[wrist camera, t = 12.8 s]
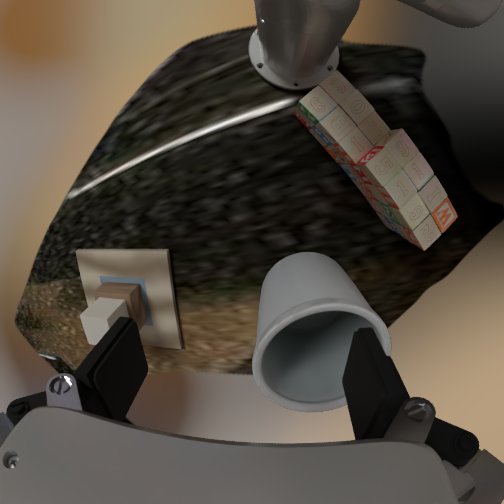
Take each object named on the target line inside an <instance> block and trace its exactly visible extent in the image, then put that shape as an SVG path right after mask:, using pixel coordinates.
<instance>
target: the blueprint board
mask: <svg viewBox="0 0 504 504" xmlns="http://www.w3.org/2000/svg"><path fill="white" fill-rule="evenodd" d="M76 255H77V260H78V265H79V270H80V275H81V279H82V283H83V288H84V292H85V296H86V300H87V303H88V307H89V306H90V305H92V304H93V303H94V302H95V297H94V293H93V291H94V290H96V289H97V288H98V287H99V286H100V285H102V284H103V283H104V282H119V283H137V284H140V288H141V294H142V299H143V304H144V309H145V314H146V319H147V321H146V323H145V324H144V325H143V327H142V328H141V330H140V331H139V334H140V338H141V342H142V345H148V346H156V347H165V348H175V349H181V348H182V346H183V345H182V339H181V334H180V328H179V322H178V315H177V309H176V302H175V295H174V288H173V280H172V272H171V264H170V255H169V249H78V250H76Z"/></svg>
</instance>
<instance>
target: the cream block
mask: <svg viewBox="0 0 504 504" xmlns="http://www.w3.org/2000/svg"><path fill="white" fill-rule="evenodd" d="M121 316H122V317H129V315H128V311H127V306H126V302H125V300H121V299H111V298H101V297H99V298H98V299H97V300H96V301H95V302H94V303H93V304H92V305H90V306H89V307H88V308H87V309H86V310H85V311H84V312H83V313H82V314H81V315H80V318H81V321H82V324H83V327H84V330H85V334H86V337H87V339H88V342H89V344H93V345H96V344H97V343H98V342H99V341H100V340H101V338H102V337H103V336H104V335H105V333H106V332H107V331H108V330H109V329H110V327H111V326H112V325H113V324H114V323H115V321H116V320H117V319H118V318H119V317H121Z"/></svg>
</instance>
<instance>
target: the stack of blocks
mask: <svg viewBox="0 0 504 504" xmlns="http://www.w3.org/2000/svg"><path fill="white" fill-rule="evenodd" d="M294 115H295V116H296V117H297V118H298V119H299V120H300V121H301V122H302V123H303V124H304V125H305V126H306V127H307V129H309V132H310V133H311V134H312V135H313V136H314V137H315V138H316V139H317V140H318V141H319V142H320V144H321V145H322V146H323V147H324V148H325V149H326V150H327V152H328V153H329V154H330V155H331V156H332V157H333V159H334V160H335V161H336V162H337V163H338V164H339V165H340V166H341V167H342V168H343V170H344V171H345V172H346V173H347V175H348V176H349V177H350V178H351V179H352V181H353V182H354V183H355V184H356V186H357V187H358V188H359V189H360V191H361V192H362V193H363V194H364V197H365V198H366V199H367V201H368V202H369V203H370V205H371V206H372V207H373V209H374V210H375V211H376V213H377V214H378V216H379V217H380V219H381V220H382V222H383V223H384V224H385V226H386V227H388V228H390V229H391V230H393V231H395V232H396V233H398V234H400V235H401V236H403V237H404V238H405V239H407V240H408V241H409V242H411V243H413V244H415V245H416V246H418V247H419V248H421V249H422V250H426V249H427V248H428V247H429V246H430V245H431V244H432V243H433V242H434V241H435V240H436V239H437V238H438V237H439V236H441V233H443V232H444V231H445V230H446V229H447V228H448V227H449V226H450V225H451V224H452V223H453V222H454V220H455V219H456V218H457V217H458V216H457V214H456V212H455V210H454V208H453V206H452V204H451V202H450V201H449V199H448V197H447V194H446V192H445V190H444V189H443V187H442V185H441V184H440V182H439V180H438V179H437V177H436V176H435V175H434V172H433V170H432V169H431V167H430V166H429V164H428V163H427V161H426V160H425V158H424V157H423V155H422V154H421V153H420V152H419V151H418V149H417V147H416V146H415V145H414V143H413V142H412V140H411V139H410V138H409V136H408V135H407V134H406V133H405V131H404V130H403V129H397V130H390V129H389V127H388V126H387V125H386V124H385V122H384V121H383V120H382V119H381V117H380V116H379V115H378V114H377V113H376V111H375V109H374V108H373V107H372V106H371V104H370V103H369V102H368V101H367V100H366V99H365V98H364V96H363V95H362V94H361V93H360V92H359V91H358V90H357V89H355V88H354V87H353V86H352V84H351V83H350V82H349V81H348V80H347V79H346V78H345V77H344V76H343V75H342V74H341V73H340V72H339V71H338V70H336V71H335V72H334V73H333V74H331V75H330V76H329V77H327V78H326V79H325V80H324V81H322V82H321V83H320V84H319V85H318V86H317V87H316V88H314V89H313V90H312V91H311V92H309V93H308V94H307V95H306V96H305V97H303V98H302V99H301V100H300V101H299V102H298V104H297V107H296V109H295V112H294Z"/></svg>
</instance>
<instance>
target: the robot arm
mask: <svg viewBox="0 0 504 504" xmlns="http://www.w3.org/2000/svg"><path fill="white" fill-rule="evenodd" d="M398 1H400V2H403V3H405V4H407V5H409V6H412V7H414V8H416V9H418V10H420V11H422V12H424V13H426V14H428V15H430V16H432V17H434V18H436V19H438V20H440V21H442V22H444V23H447V24H449V25H452V26H455V27H460V28H474V27H477V26H480V25H482V24H483V23H485V22H487V21H488V20H489V19H490V18H492V16H493V15H494V14H495V13H496V12H497V10H498V9H499V7H500V6H501V4H502V2H503V0H398ZM254 2H255V11H256V19H257V29H256V30H255V31H254V33H253V35H252V36H251V39H250V42H249V49H248V50H249V57H250V60H251V63H252V65H253V67H254V69H255V70H256V71H257V73H258V74H259V75H260V76H261V77H262V78H263V79H265V80H266V81H268V82H269V83H271V84H272V85H275V86H277V87H280V88H283V89H288V90H298V91H299V90H308V89H312V88H315V87H317V86H318V85H319V84H320V83H321V82H322V81H324V80H325V79H326V78H327V77H329V76H330V75H331V74H333V73H334V72H335V71H336V68H337V66H338V63H339V49H338V46H337V45H338V43H339V41H340V40H341V38H342V36H343V35H344V33H345V32H346V30H347V28H348V27H349V25H350V23H351V22H352V20H353V18H354V17H355V15H356V13H357V11H358V9H359V5H360V0H254ZM259 66H261V67H262V68H259ZM328 69H330V70H331V71H329V70H328ZM294 84H297V85H298V86H294ZM75 373H76V374H75V375H74V377H73V376H72V375H69V374H64V373H63V374H58V375H55V376H54V377H52V378H51V379H50V380H49V381H48V383H47V385H46V391H44V392H41V393H37V394H33V395H30V396H26V397H23V398H19V399H16V400H14V401H12V402H11V403H10V405H9V406H8V408H7V412H6V414H4V413H3V412H2V413H0V504H501V503H502V501H503V500H504V464H503V463H502V462H501V461H499V460H498V459H497V458H496V457H494V456H493V455H492V454H490V453H489V452H488V451H487V450H485V449H484V450H483V451H481V450H480V449H479V441H478V439H477V437H476V436H475V435H474V434H473V433H471V432H469V431H466V430H464V429H462V428H459V427H457V426H454V425H452V424H449V423H447V422H445V421H443V420H440V419H438V418H436V417H435V414H436V411H435V407H434V406H433V404H432V403H431V402H430V401H428V400H426V399H424V398H421V397H412V398H410V396H409V394H408V392H407V390H406V388H405V385H404V383H403V381H402V379H401V377H400V375H399V373H398V371H397V369H396V367H395V365H394V363H393V360H392V359H391V357H390V356H387V355H386V353H385V351H384V349H383V347H382V345H381V343H380V341H379V339H378V337H377V335H376V333H375V331H374V329H373V328H372V327H366V328H359V329H358V331H355V332H354V334H353V338H352V342H351V346H350V350H349V354H348V358H347V362H346V366H345V370H344V374H343V378H342V385H343V389H344V393H345V397H346V401H347V405H348V409H349V413H350V418H351V422H352V426H353V431H354V435H355V440H351V441H340V442H324V443H297V444H276V443H274V444H273V443H249V442H235V441H224V440H214V439H205V438H198V437H192V436H185V435H179V434H173V433H168V432H163V431H158V430H153V429H148V428H144V427H140V426H136V425H132V424H128V423H124V422H123V420H124V418H125V416H126V414H127V412H128V410H129V408H130V406H131V404H132V402H133V401H134V398H135V396H136V395H137V393H138V391H139V389H140V387H141V385H142V383H143V381H144V379H145V377H146V375H147V373H148V365H147V361H146V357H145V354H144V350H143V346H142V342H141V338H140V334H139V329H138V325H137V323H136V322H135V321H134V320H133V318H130V317H122V316H121V317H119V318H118V319H117V320H116V321H115V323H114V324H113V325H112V326H111V327H110V329H109V330H108V331H107V332H106V333H105V335H104V336H103V337H102V338H101V340H100V341H99V342H98V343H97V344H96V346H95V347H94V348H93V349H92V351H91V352H90V353H89V354H88V356H87V357H86V358H85V359H84V361H83V362H82V363H81V364H80V366H79V367H78V368H77V370H76V371H75Z"/></svg>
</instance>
